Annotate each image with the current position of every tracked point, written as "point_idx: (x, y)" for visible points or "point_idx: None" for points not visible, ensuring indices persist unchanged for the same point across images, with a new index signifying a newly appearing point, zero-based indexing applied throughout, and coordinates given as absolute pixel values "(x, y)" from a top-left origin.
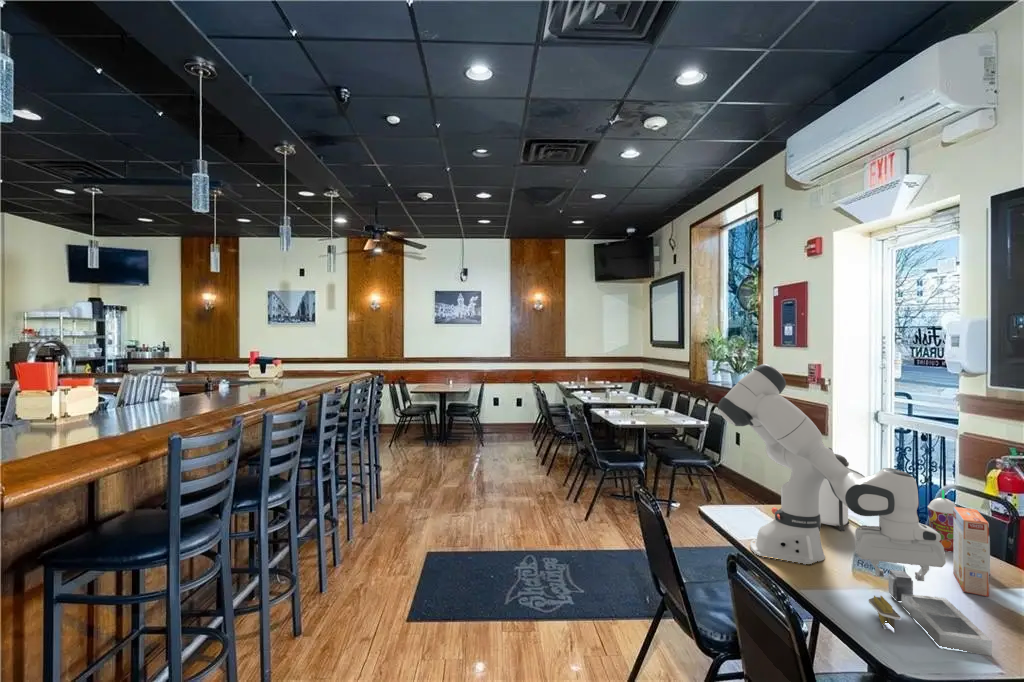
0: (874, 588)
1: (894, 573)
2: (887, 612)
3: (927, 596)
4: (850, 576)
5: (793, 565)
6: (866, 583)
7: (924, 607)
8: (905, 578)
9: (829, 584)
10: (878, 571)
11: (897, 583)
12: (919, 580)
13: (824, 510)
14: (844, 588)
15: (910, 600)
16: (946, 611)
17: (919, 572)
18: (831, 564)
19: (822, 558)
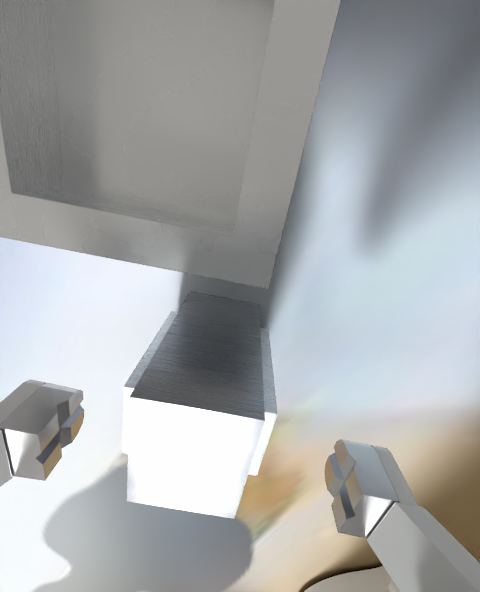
0: (278, 418)
1: (237, 472)
2: None
3: (97, 250)
4: (309, 494)
5: (473, 555)
6: (283, 452)
7: (160, 210)
8: (186, 400)
9: (463, 444)
10: (404, 493)
11: (256, 371)
12: (64, 388)
13: None
14: (423, 416)
15: (278, 162)
16: (45, 119)
17: (2, 471)
18: (315, 556)
19: (331, 585)
